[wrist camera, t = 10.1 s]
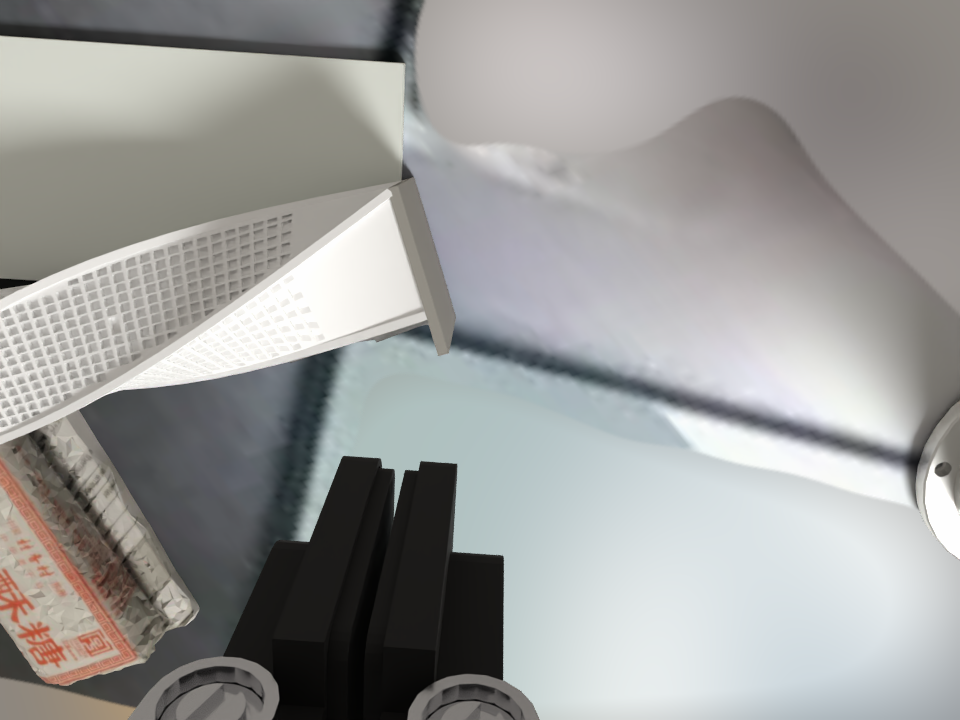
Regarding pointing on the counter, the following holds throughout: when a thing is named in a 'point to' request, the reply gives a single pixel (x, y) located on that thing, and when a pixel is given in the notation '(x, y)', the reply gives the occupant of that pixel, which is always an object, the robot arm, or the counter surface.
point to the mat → (176, 141)
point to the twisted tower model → (222, 302)
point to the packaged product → (79, 559)
